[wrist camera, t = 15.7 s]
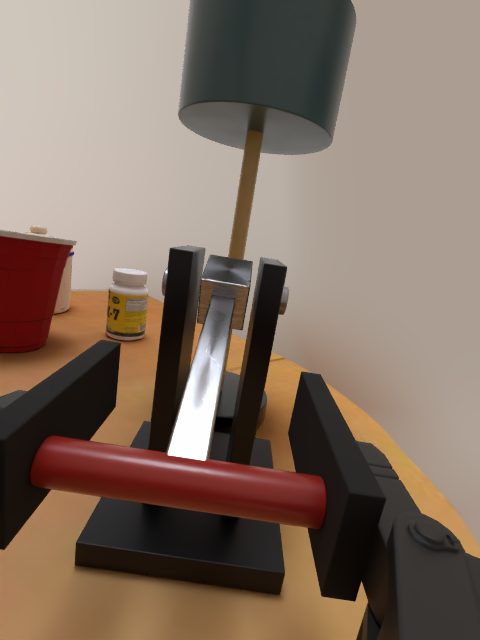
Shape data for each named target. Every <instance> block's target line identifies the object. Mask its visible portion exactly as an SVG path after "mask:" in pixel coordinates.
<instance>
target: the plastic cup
mask: <svg viewBox="0 0 480 640" xmlns="http://www.w3.org/2000/svg"><path fill="white" fill-rule="evenodd" d="M73 245H76V241H72V240H65V239H58V238H52V237H45V236H38V235H32V234H25V233H18V232H11V231H4V230H0V352H11V353H16V352H26V351H31V350H35V349H39V348H41V347H42V346H44V345H45V342H46V340H47V337H48V334H49V329H50V324H51V319H52V316H53V314H54V310H55V306H56V302H57V297H58V293H59V289H60V284H61V280H62V276H63V271H64V268H65V266H66V262H67V258H69V254H70V251H71V249H72V248H73Z"/></svg>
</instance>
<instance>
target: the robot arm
mask: <svg viewBox="0 0 480 640" xmlns="http://www.w3.org/2000/svg"><path fill="white" fill-rule="evenodd" d="M120 346H121V343H118V342H111V341H105V340H100V341H99V342H98V343H96V344H95V345H93V346H92V347H90V348H89V349H88V350H86V351H85V352H83V353H82V354H80V355H79V356H78V357H76V358H75V359H73V360H72V361H70V362H69V363H68V364H66V365H65V366H63V367H62V368H60V369H59V370H58V371H56V372H55V373H53V374H52V375H51V376H49V377H48V378H46V379H45V380H43V381H42V382H41V383H39V384H38V385H36V386H35V387H33V388H32V389H31V390H29V391H22V390H18V391H15V392H12V393H10V394H7V395H4V396H1V397H0V549H3V550H5V548H6V547H7V546H8V544H9V543H10V542H11V541H12V539H13V538H14V537H15V535H16V534H17V533H18V532H19V530H20V529H21V528H22V526H23V525H24V524H25V523H26V521H27V520H28V519H29V517H30V516H31V515H32V514H33V512H34V511H35V510H36V508H37V507H38V506H39V505H40V503H41V502H42V501H43V499H44V498H45V497H46V496H47V494H48V493H49V492H50V490H51V489H46V488H39V487H34V486H33V485H32V484H31V481H30V471H31V466H32V462H33V459H34V457H35V454H36V452H37V450H38V448H39V447H40V445H41V444H42V443H43V441H44V440H45V439H46V438H48V437H49V436H53V435H54V436H61V437H67V438H74V439H80V440H87V441H89V440H90V439H91V438H92V436H93V435H94V434H95V433H96V431H97V430H98V429H99V427H100V426H101V425H102V424H103V422H104V421H105V420H106V418H107V417H108V416H109V415H110V413H111V412H112V411H113V409H114V408H115V407H116V395H117V383H118V371H119V359H120ZM288 435H289V440H290V445H291V450H292V455H293V460H294V465H295V469H296V473H303V474H309V475H316V476H320V477H322V478H323V480H324V483H325V487H326V496H327V507H326V515H325V520H324V523H323V526H322V527H321V528H320V529H312V528H308V533H309V537H310V542H311V547H312V552H313V557H314V562H315V567H316V572H317V576H318V581H319V586H320V591H321V596H322V597H329V598H336V599H342V600H349V601H355V600H356V597H357V593H358V590H359V587H360V584H361V580H362V583H363V586H364V589H365V593H366V596H367V599H368V604H367V607H366V610H365V613H364V617H363V620H362V623H361V626H360V629H359V632H358V636H357V639H356V640H480V558H477V557H474V556H472V555H470V554H468V553H465V551H464V549H463V547H462V545H461V543H460V541H459V540H458V539H457V538H456V536H455V535H454V534H453V533H452V532H451V531H450V530H449V529H448V528H446V527H445V526H443V525H442V524H441V523H439V522H438V521H436V520H434V519H432V518H430V517H428V516H426V515H424V514H422V513H421V512H420V510H419V509H418V507H417V506H416V504H415V502H414V501H413V499H412V498H411V496H410V494H409V493H408V491H407V490H406V488H405V486H404V485H403V483H402V482H401V480H399V477H398V475H397V474H396V472H395V471H394V470H393V469H392V466H391V464H390V463H389V461H388V459H387V458H386V456H385V455H384V454H383V453H382V452H381V451H380V450H378V449H377V448H376V447H375V446H374V445H373V444H371V443H365V442H359V441H356V440H355V438H354V437H353V435H352V433H351V431H350V429H349V427H348V425H347V423H346V421H345V420H344V418H343V416H342V414H341V412H340V410H339V408H338V406H337V405H336V403H335V401H334V399H333V397H332V395H331V393H330V391H329V389H328V388H327V386H326V384H325V382H324V380H323V378H322V377H321V375H320V374H314V373H308V372H301V376H300V380H299V385H298V390H297V394H296V399H295V404H294V408H293V413H292V418H291V422H290V427H289V432H288Z"/></svg>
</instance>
